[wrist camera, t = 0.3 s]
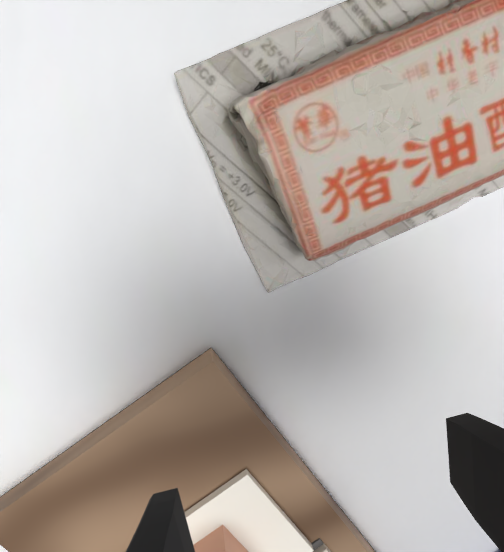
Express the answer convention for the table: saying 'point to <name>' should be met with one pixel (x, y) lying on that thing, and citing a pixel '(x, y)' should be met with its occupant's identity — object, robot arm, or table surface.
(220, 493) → the stub
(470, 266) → the table surface
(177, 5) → the table surface
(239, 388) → the board
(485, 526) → the robot arm
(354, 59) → the packaged product
